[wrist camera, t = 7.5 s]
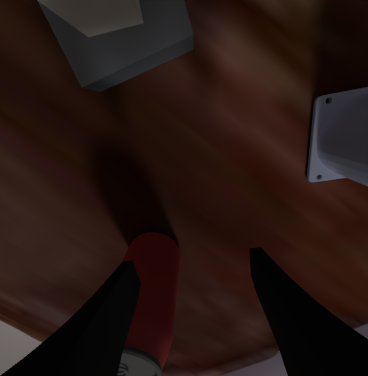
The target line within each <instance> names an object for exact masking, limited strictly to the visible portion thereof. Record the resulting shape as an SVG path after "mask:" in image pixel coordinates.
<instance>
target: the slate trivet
mask: <svg viewBox="0 0 368 376" xmlns="http://www.w3.org/2000/svg"><path fill="white" fill-rule="evenodd" d="M38 3H39V5H40V7H41V9H42V11H43V13H44V15H45V17H46V19H47V21H48V23H49V24H50V26H51V28H52V30H53V32H54V34H55V36H56V38H57V40H58V42H59V44H60V46H61V48H62V50H63V52H64V54H65V56H66V58H67V60H68V62H69V64H70V66H71V68H72V70H73V72H74V73H75V75H76V77H77V79H78V81H79V83H80V85H81V87H82V88H85V89H90V90H94V91H98V92H102V91H104V90H106V89H109V88H111V87H113V86H115V85H117V84H119V83H122V82H124V81H126V80H128V79H130V78H133V77H135V76H137V75H139V74H141V73H143V72H146V71H148V70H150V69H152V68H154V67H156V66H159V65H161V64H163V63H165V62H167V61H170V60H172V59H174V58H176V57H178V56H180V55H183V54H185V53H187V52H189V51H191V50H194V34H193V30H192V26H191V23H190V19H189V15H188V12H187V8H186V4H185V1H184V0H139V3H140V8H141V12H142V17H143V22H144V23H142V24H138V25H134V26H131V27H127V28H123V29H119V30H115V31H111V32H107V33H103V34H99V35H95V36H91V37H87V36H86V35H84V34H83V33H82V32H80V31H79V30H77V29H76V28H75V27H73V26H72V25H71V24H69V23H68V22H66V21H65V20H64V19H62V18H61V17H60V16H58V15H57V14H55V13H54V12H53V11H51V10H50V9H49V8H47V7H46V6H44V5H43V4H42V3H40V2H39V1H38Z"/></svg>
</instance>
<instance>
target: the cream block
mask: <svg viewBox="0 0 368 376" xmlns="http://www.w3.org/2000/svg"><path fill="white" fill-rule="evenodd" d="M37 1H39V2H40V3H42V4H43V5H44V6H46V7H47V8H49V9H50V10H51V11H53V12H54V13H55V14H57V15H58V16H60V17H61V18H62V19H64V20H65V21H66V22H68V23H69V24H71V25H72V26H73V27H75V28H76V29H77V30H79V31H80V32H82V33H83V34H84V35H86V36H87V37H91V36H95V35H99V34H103V33H107V32H111V31H115V30H119V29H123V28H127V27H131V26H134V25H138V24H142V23H144V22H143V17H142V12H141V8H140V3H139V0H37Z"/></svg>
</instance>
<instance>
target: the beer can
mask: <svg viewBox="0 0 368 376" xmlns="http://www.w3.org/2000/svg"><path fill="white" fill-rule="evenodd" d="M131 260H133V263H134V266H135V268H136V271H137V274H138V276H139V279H140V282H141V287H140V293H139V298H138V303H137V306H136V309H135V313H134V316H133V319H132V322H131V326H130V329H129V332H128V335H127V339H126V342H125V345H124V349H123V353H122V357H121V361H120V365H119V370H118V374H117V376H162V368H163V366H164V363H165V361H166V358H167V356H168V353H169V350H170V346H171V343H172V339H173V328H174V317H175V306H176V295H177V284H178V273H179V262H180V251H179V248H178V246H177V244H176V243H175V241H173V240H172V239H171V238H170V237H168V236H166V235H164V234H162V233H157V232H147V233H144V234H141V235H139V236H137V237H136V238H135V239H134V240H133V241H132V243H131V245H130V246H129V249H128V251H127V253H126V255H125V257H124V259H123V261H131ZM123 261H122V262H123Z"/></svg>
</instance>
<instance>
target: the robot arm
mask: <svg viewBox="0 0 368 376" xmlns="http://www.w3.org/2000/svg"><path fill="white" fill-rule="evenodd" d="M327 98H328V99H329V102H328V103H327V104H326V99H327ZM318 175H319V177H318V178H316V177H317V176H318ZM341 178H349V179H352V180H354V181H356V182H359V183H361V184H363V185H366V186H368V87H365V88H360V89H355V90H349V91H344V92H339V93H333V94H328V95H323V96H319V97H317V98H316V99H315V101H314V107H313V117H312V128H311V138H310V148H309V158H308V169H307V180H308V181H310V182H319V181H326V180H333V179H341ZM250 266H251V276H252V280H253V283H254V286H255V290H256V293H257V295H258V298H259V300H260V303H261V305H262V308H263V310H264V312H265V315H266V317H267V320H268V322H269V325H270V327H271V329H272V332H273V334H274V337H275V339H276V342H277V345H278V347H279V350H280V353H281V356H282V359H283V362H284V365H285V368H286V371H287V374H288V376H368V339H367V338H365V337H364V336H362V335H361V334H360V333H358V332H357V331H355V330H354V329H352V328H351V327H350V326H348V325H347V324H345V323H344V322H343V321H341V320H340V319H339V318H338V317H336V316H335V315H334V314H332V313H331V312H330V311H328V310H327V309H326V308H325V307H323V306H322V305H321V304H320V303H318V302H317V301H316V300H315V299H314V298H312V297H311V296H310V295H309V294H308V293H307V292H305V291H304V290H303V289H302V288H301V287H300V286H299V285H298V284H297V283H295V282H294V281H293V280H292V279H291V278H290V277H289V276H288V275H287V274H286V273H285V272H284V271H283V270H282V269H281V268H280V267H279V266H278V265H277V264H276V263H275V262H274V261H273V260H272V259H271V258H270V257H269V256H268V254H267V253H266V252H265V251H264V250H263V249H262V248H261V247H260V248H250ZM140 287H141V282H140V279H139V276H138V274H137V271H136V268H135V266H134V263H133V260H131V261H123V262H122V263H121V264H120V265H119V267H118V268H117V269H116V270H115V271H114V272H113V273H112V275H111V276H110V277H109V278H108V279H107V280H106V281H105V283H104V284H103V285H102V286H101V287H100V288H99V289H98V290H97V291H96V293H95V294H94V295H93V296H92V297H91V298H90V299H89V300H88V301H87V302H86V303H85V304H84V305H83V306H82V307H81V308H80V309H79V310H78V311H77V312H76V313H75V314H74V315H73V316H72V317H71V318H70V319H69V320H68V321H67V322H66V323H65V324H63V325H62V326H61V327H60V328H59V329H58V330H57V331H56V332H55V333H53V334H52V335H51V336H50V337H49V338H47V339H46V340H45V341H44V342H43V343H41V344H40V345H39V346H38V347H37V348H36V349H34V350H33V351H32V352H31V353H29V354H28V355H27V356H26V357H24V358H23V359H22V360H20V361H19V362H18V363H17V364H15V365H14V366H13V367H11V368H10V369H9V370H8V371H6V372H5V373H3V374H2V375H1V376H117V374H118V370H119V365H120V361H121V357H122V353H123V349H124V345H125V342H126V339H127V335H128V332H129V329H130V326H131V322H132V319H133V316H134V313H135V309H136V306H137V303H138V298H139V293H140Z"/></svg>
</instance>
